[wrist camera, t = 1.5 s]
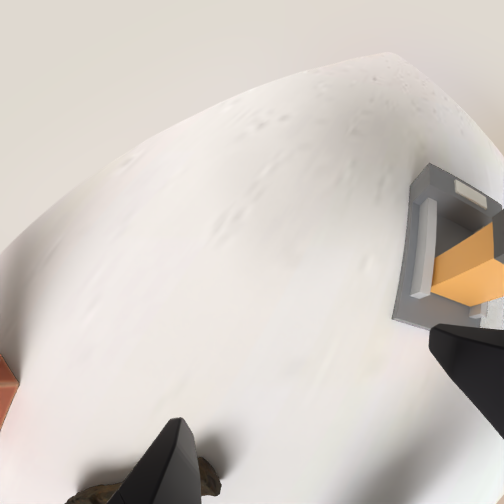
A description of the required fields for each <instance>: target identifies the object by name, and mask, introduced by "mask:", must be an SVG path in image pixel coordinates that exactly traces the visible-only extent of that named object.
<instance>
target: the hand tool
mask: <svg viewBox="0 0 504 504" xmlns="http://www.w3.org/2000/svg"><path fill="white" fill-rule="evenodd" d="M197 460H198V466H199V472H200V485H201V496H205V495H211V496H218V495H219V494H220V490H221V486H222V484H221V483H220V480H219V477H218V476H217V475H216V473H215V471H214V469H213V468H212V466H211V465H210V464H209V462H207V461H206V460H205V459H204V458H203V457H199V458H198V459H197ZM121 484H122V483H118V484H113V485H107V486H104V485H98V486H94V487H91V488H88V489H86V490H84V491H82V492H78V493H77V494H76V495H75V496H72V497H71V498H69V499H68V501H67V502H66V503H65V504H106V503H107V502H108V501H109V499H110V498H111V497H112V496H113V494H114V493H115V492H116V491H117V490H118V488H119V487H120V485H121Z"/></svg>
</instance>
